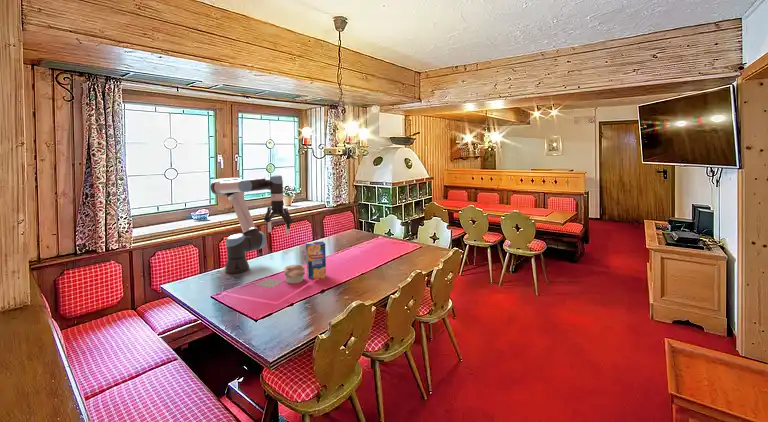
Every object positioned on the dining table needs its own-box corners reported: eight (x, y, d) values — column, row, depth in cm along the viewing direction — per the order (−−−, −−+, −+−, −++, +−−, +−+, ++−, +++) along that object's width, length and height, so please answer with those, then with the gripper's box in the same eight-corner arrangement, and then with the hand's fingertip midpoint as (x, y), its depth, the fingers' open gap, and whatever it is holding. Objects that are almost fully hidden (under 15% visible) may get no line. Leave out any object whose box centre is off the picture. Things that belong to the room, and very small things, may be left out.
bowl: (284, 284, 232) (284, 276, 231) (288, 279, 242) (287, 271, 241) (301, 284, 233) (301, 276, 232) (304, 279, 242) (304, 271, 242)
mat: (254, 286, 229) (254, 285, 229) (267, 280, 240) (267, 278, 240) (271, 289, 225) (271, 287, 224) (283, 282, 236) (283, 281, 235)
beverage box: (306, 276, 247) (305, 242, 243) (323, 274, 251) (323, 241, 247) (308, 280, 240) (307, 245, 237) (326, 277, 244) (325, 244, 240)
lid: (280, 275, 234) (280, 268, 233) (292, 269, 244) (292, 263, 244) (297, 278, 229) (296, 271, 228) (308, 272, 240) (308, 265, 239)
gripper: (257, 199, 246) (258, 232, 250) (290, 202, 237) (291, 235, 240) (264, 198, 253) (266, 229, 256) (297, 200, 244) (298, 233, 247)
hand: (278, 232), depth 248 cm, fingers open, 13 cm apart
